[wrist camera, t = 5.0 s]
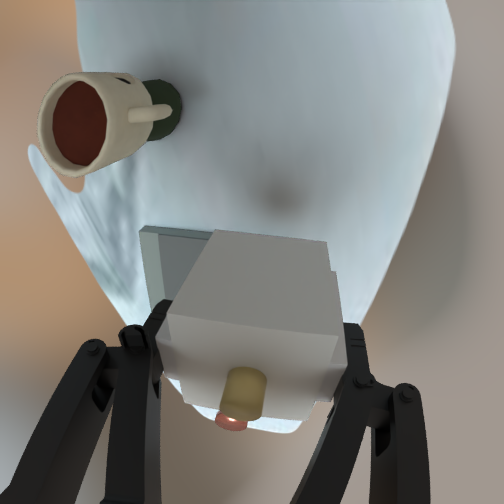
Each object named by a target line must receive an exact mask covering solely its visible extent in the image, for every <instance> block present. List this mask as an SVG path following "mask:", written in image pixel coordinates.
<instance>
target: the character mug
mask: <svg viewBox="0 0 504 504" xmlns="http://www.w3.org/2000/svg"><path fill="white" fill-rule="evenodd" d="M180 112H181V102H180V96H179V93H178V92H177V91H176V90H175V88H174V87H173V86H172V85H171V84H170V83H167V82H165V81H162V80H160V79H158V80H150V81H143V82H141V80H139V79H138V78H136V77H134V76H132V75H130V74H128V73H111V72H79V73H71V74H67V75H65V76H63V77H61V78H60V79H58V80H57V81H56V82H55V83H54V84H52V86H51V87H50V89H49V90H48V92H47V93H46V95H45V96H44V98H43V101H42V104H41V107H40V110H39V113H38V121H37V136H38V141H39V144H40V149H41V152H42V154H43V155H44V157H45V159H46V160H47V162H48V164H49V165H50V166H51V167H52V168H53V169H55V170H56V171H57V172H59V173H60V174H61V175H64V176H69V177H73V178H78V177H80V176H83V175H86V174H89V173H92V172H95V171H97V170H99V169H101V168H103V167H106V166H108V165H110V164H112V163H114V162H117V161H119V160H121V159H123V158H126V157H128V156H130V155H132V154H133V153H135V152H136V151H137V150H138V149H139V148H140V147H141V146H142V145H144V144H145V143H146V141H154V140H160V139H162V138H163V137H165V136H167V135H169V134H170V133H171V132H172V131H173V129H174V128H175V126H176V125H177V123H178V122H179V117H180Z"/></svg>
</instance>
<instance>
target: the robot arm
mask: <svg viewBox="0 0 504 504" xmlns="http://www.w3.org/2000/svg"><path fill="white" fill-rule="evenodd" d="M331 275H332V282H333V290H334V298H335V306H336V314H337V323H338V333H339V337H338V340H337V343H336V346H335V349H334V352H333V355H332V358H331V360H330V363H329V366H328V369H327V372H326V374H325V377H324V380H323V382H322V385H321V388H320V390H319V393H318V396H317V398H316V401H323V402H331V400H332V398H333V396H334V405H333V407H332V409H331V411H330V413H329V415H328V416H327V418H328V419H327V422H326V424H325V427H324V429H323V432H322V434H321V437H320V439H319V441H318V444H317V446H316V449H315V451H314V453H313V456H312V458H311V460H310V462H309V465H308V467H307V469H306V471H305V473H304V475H303V478H302V480H301V482H300V484H299V486H298V488H297V490H296V492H295V494H294V496H293V498H292V500H291V502H290V504H340V502H341V500H342V497H343V494H344V492H345V489H346V487H347V484H348V481H349V479H350V476H351V473H352V470H353V467H354V464H355V461H356V458H357V455H358V452H359V449H360V445H361V442H362V439H363V435H364V432H365V429H366V426H369V427H371V475H370V494H369V504H430V475H429V460H428V448H427V440H426V439H427V438H426V430H425V422H424V415H423V408H422V401H421V395H420V393H419V391H418V389H417V388H416V387H415V386H413V385H411V384H408V383H401V384H399V385H397V386H396V387H395V388H392V387H389V386H386V385H383V384H381V383H379V382H377V381H376V380H375V378H374V376H373V375H372V374H371V373H370V369H369V363H368V356H367V350H366V344H365V341H364V340H365V339H364V333H363V330H362V329H361V327H360V326H359V325H358V324H355V323H343V318H342V311H341V303H340V296H339V289H338V282H337V275H336V271H331ZM172 302H173V300H167V299H163V300H161V301H160V302H159V303H157V304H156V305H155V307H154V309H153V310H152V313H150V315H149V317H148V318H147V320H146V322H145V323H144V325H143V326H141V325H136V324H134V325H128V326H126V327H124V328H123V329H122V330H121V331H120V332H119V334H118V337H119V340H120V342H121V345H122V346H121V347H106V344H105V343H104V342H103V341H101V340H99V339H91V340H88V341H86V342H84V344H83V345H82V346H81V347H80V349H79V350H78V352H77V354H76V356H75V357H74V359H73V360H72V362H71V364H70V365H69V367H68V369H67V371H66V372H65V374H64V376H63V377H62V379H61V381H60V383H59V384H58V386H57V388H56V390H55V392H54V393H53V395H52V397H51V399H50V401H49V403H48V405H47V406H46V408H45V410H44V412H43V414H42V416H41V418H40V420H39V422H38V424H37V426H36V428H35V430H34V432H33V434H32V436H31V438H30V440H29V442H28V444H27V446H26V449H25V451H24V453H23V455H22V457H21V459H20V462H19V464H18V466H17V469H16V471H15V473H14V476H13V478H12V480H11V483H10V485H9V486H8V487H7V488H6V489H5V490H4V491H3V492H2V493H1V494H0V504H75V501H76V498H77V495H78V492H79V490H80V487H81V484H82V481H83V478H84V475H85V473H86V470H87V467H88V465H89V462H90V459H91V457H92V454H93V451H94V449H95V446H96V444H97V441H98V439H99V436H100V434H101V431H102V429H103V426H104V424H105V422H106V419H107V417H108V414H109V412H110V410H111V407H112V405H113V409H112V417H111V425H110V434H109V444H108V455H107V467H106V484H105V497H104V499H103V500H102V501H101V502H100V504H162V502H161V478H160V410H161V409H160V408H161V407H160V406H161V379H160V377H161V375H162V372H163V371H164V375H165V377H166V378H171V379H175V380H179V377H178V372H177V367H176V362H175V357H174V352H173V347H172V342H171V336H170V330H169V325H168V319H167V311H168V309H169V308H170V306H171V304H172Z"/></svg>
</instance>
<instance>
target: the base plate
mask: <svg viewBox="0 0 504 504" xmlns="http://www.w3.org/2000/svg"><path fill="white" fill-rule="evenodd" d="M212 234H213V233H209V232H200V231H191V230H181V229H172V228H162V227H152V226H144V227H143V228H142V229H141V230H140V231H139V237H140V244H141V252H142V259H143V266H144V272H145V278H146V284H147V290H148V296H149V301H150V307H151V312H152V310H153V309H154V307H155V305H156V304H157V303H159V302H160V301H161V300H163V299H167V300H174V299H175V297H176V295H177V293H178V292H179V290H180V288H181V286H182V285H183V283H184V281H185V279H186V278H187V276H188V274H189V273H190V271H191V269H192V267H193V266H194V264H195V262H196V261H197V259H198V257H199V256H200V254H201V252H202V250H203V249H204V247H205V245H206V244H207V242H208V240H209V239H210V237H211V235H212Z"/></svg>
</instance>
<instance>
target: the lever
mask: <svg viewBox="0 0 504 504" xmlns="http://www.w3.org/2000/svg"><path fill="white" fill-rule="evenodd" d="M215 423H216V424H217V425H218V426H220V427H222V428H224V429H227V430H231V431H241V430H244V429H246V428H247V423H248V421H238V420H234V419H231V418H229V417H227V416H225V415H224V414H223V413H222V412H221V411H218V412H217V414H216V418H215Z"/></svg>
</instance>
